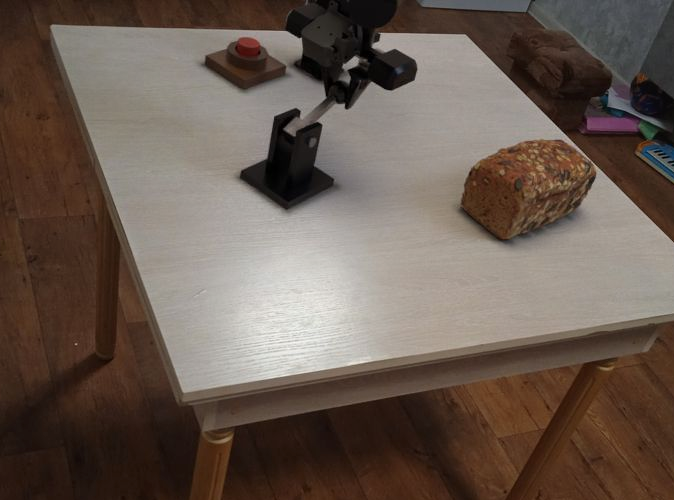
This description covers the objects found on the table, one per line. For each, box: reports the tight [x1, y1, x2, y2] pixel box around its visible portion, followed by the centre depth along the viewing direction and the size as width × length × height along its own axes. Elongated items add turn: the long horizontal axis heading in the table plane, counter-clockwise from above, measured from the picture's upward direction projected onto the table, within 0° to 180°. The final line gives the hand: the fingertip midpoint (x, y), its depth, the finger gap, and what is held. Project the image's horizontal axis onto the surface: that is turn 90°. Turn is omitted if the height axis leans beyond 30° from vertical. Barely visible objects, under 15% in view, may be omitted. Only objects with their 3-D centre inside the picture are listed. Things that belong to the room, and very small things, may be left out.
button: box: [237, 36, 261, 57], centre depth 135 cm, size 4×4×2 cm
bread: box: [460, 138, 598, 240], centre depth 121 cm, size 19×11×10 cm, turn 130°
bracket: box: [239, 107, 335, 210], centre depth 114 cm, size 10×9×10 cm
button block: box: [204, 40, 287, 90], centre depth 136 cm, size 10×9×4 cm
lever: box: [283, 79, 349, 146], centre depth 113 cm, size 12×3×3 cm, turn 140°
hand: (338, 102), depth 115 cm, fingers closed on lever, 3 cm apart
